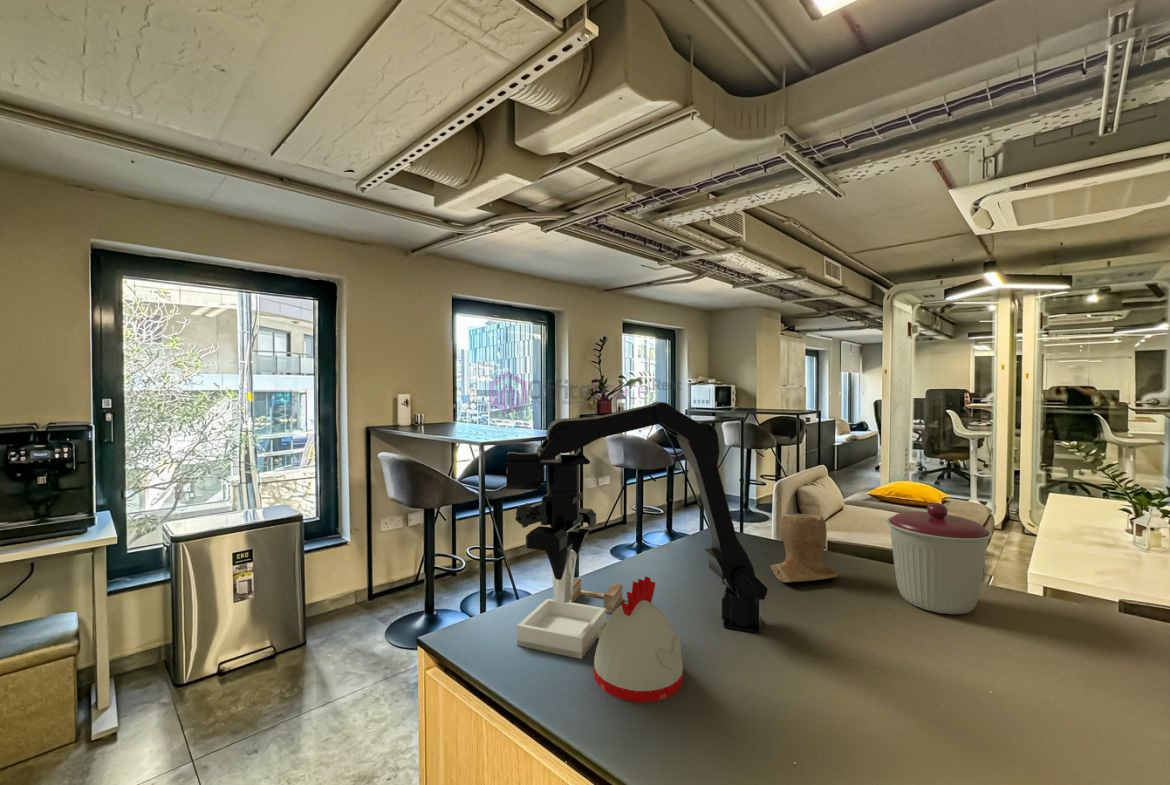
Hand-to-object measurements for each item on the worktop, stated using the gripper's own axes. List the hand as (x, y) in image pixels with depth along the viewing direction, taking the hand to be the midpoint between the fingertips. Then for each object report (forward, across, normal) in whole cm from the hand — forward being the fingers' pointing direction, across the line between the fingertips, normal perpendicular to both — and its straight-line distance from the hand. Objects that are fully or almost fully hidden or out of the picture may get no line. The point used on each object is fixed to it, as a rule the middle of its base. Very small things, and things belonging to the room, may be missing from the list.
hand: (563, 574), depth 93 cm
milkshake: (+5, +1, 0) cm, 5 cm away
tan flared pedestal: (+12, -47, +41) cm, 63 cm away
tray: (+11, 0, 0) cm, 11 cm away
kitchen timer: (+12, +7, +16) cm, 21 cm away
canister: (+12, -41, +67) cm, 79 cm away
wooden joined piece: (+11, -15, 0) cm, 19 cm away
